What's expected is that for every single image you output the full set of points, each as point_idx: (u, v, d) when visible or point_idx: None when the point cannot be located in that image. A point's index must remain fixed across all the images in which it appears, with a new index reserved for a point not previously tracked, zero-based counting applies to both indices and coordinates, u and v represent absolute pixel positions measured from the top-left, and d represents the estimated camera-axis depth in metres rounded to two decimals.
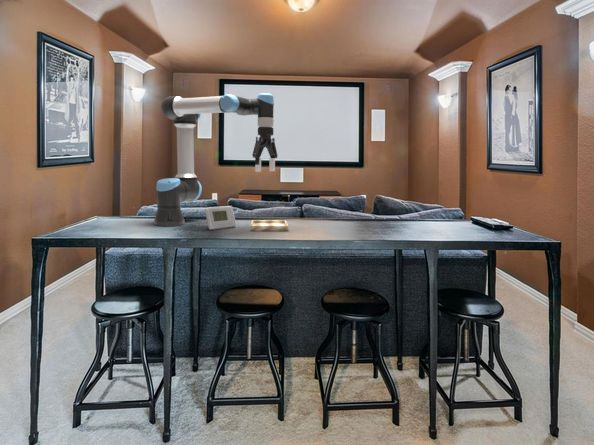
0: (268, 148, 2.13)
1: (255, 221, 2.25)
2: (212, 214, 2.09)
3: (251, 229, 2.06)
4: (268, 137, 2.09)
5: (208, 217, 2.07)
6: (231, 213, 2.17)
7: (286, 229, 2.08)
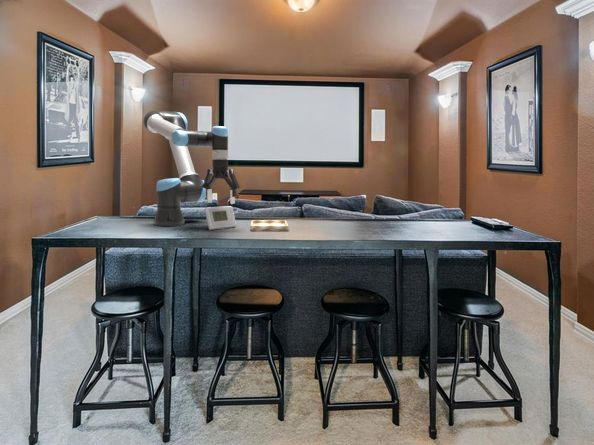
0: None
1: (255, 221, 2.25)
2: (212, 214, 2.09)
3: (251, 229, 2.06)
4: (220, 169, 2.08)
5: (208, 217, 2.07)
6: (231, 213, 2.17)
7: (286, 229, 2.08)
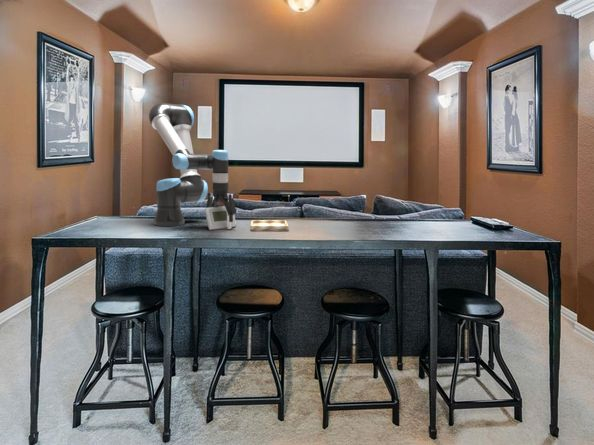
0: None
1: (255, 221, 2.25)
2: (212, 214, 2.09)
3: (251, 229, 2.06)
4: (221, 191, 2.10)
5: (208, 217, 2.07)
6: None
7: (286, 229, 2.08)
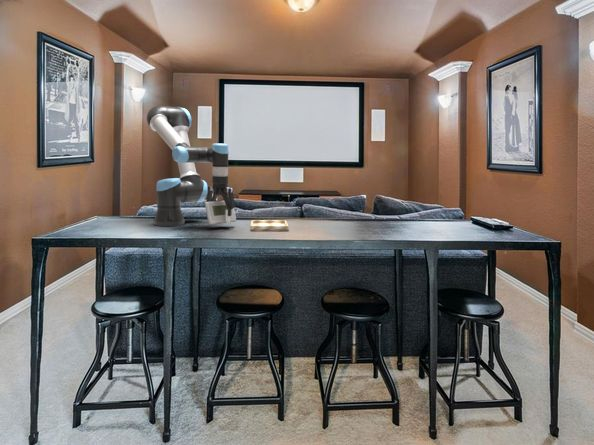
0: None
1: (255, 221, 2.25)
2: (213, 208, 2.09)
3: (251, 229, 2.06)
4: (221, 184, 2.10)
5: (208, 211, 2.07)
6: None
7: (286, 229, 2.08)
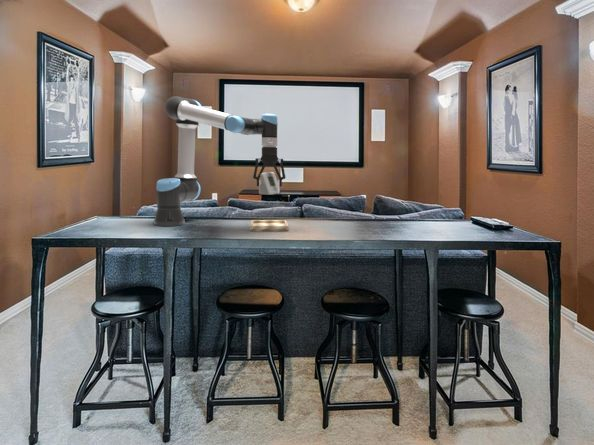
0: (274, 168, 2.13)
1: (255, 221, 2.25)
2: (268, 179, 2.08)
3: (251, 229, 2.06)
4: (272, 155, 2.11)
5: (266, 182, 2.06)
6: (275, 179, 2.19)
7: (286, 229, 2.08)
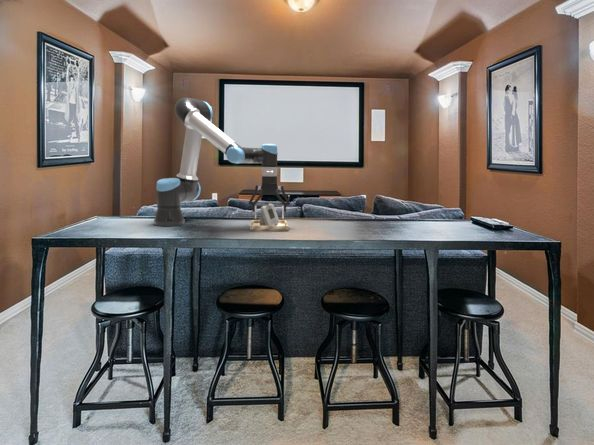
0: None
1: (255, 221, 2.25)
2: (268, 212, 2.11)
3: (251, 229, 2.06)
4: (271, 185, 2.13)
5: (267, 215, 2.08)
6: (274, 210, 2.21)
7: (286, 229, 2.08)
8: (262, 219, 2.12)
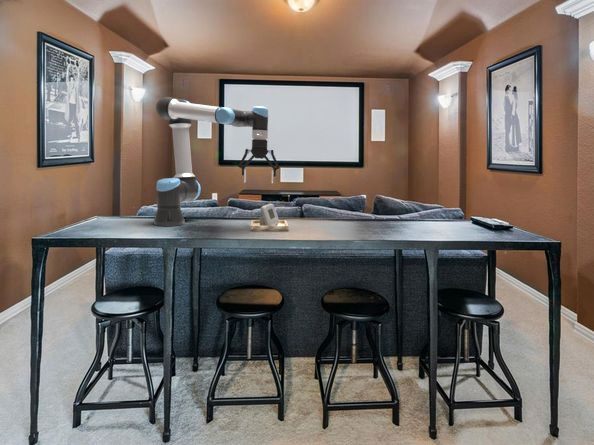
0: None
1: (255, 221, 2.25)
2: (268, 212, 2.11)
3: (251, 229, 2.06)
4: (261, 149, 2.12)
5: (267, 215, 2.08)
6: (275, 210, 2.21)
7: (286, 229, 2.08)
8: (262, 219, 2.12)
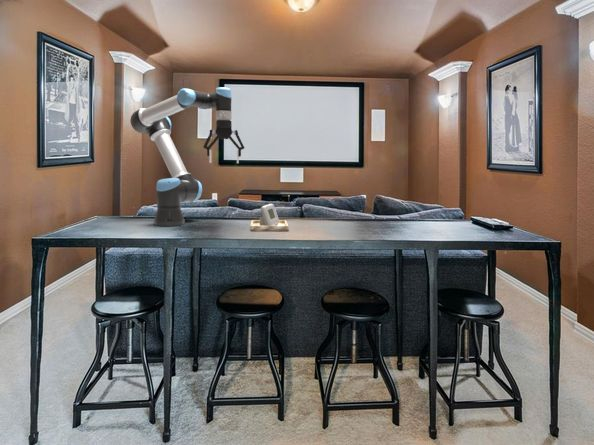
0: (231, 140, 2.18)
1: (255, 221, 2.25)
2: (268, 212, 2.11)
3: (251, 229, 2.06)
4: (225, 129, 2.16)
5: (267, 215, 2.08)
6: (275, 210, 2.21)
7: (286, 229, 2.08)
8: (262, 219, 2.12)
